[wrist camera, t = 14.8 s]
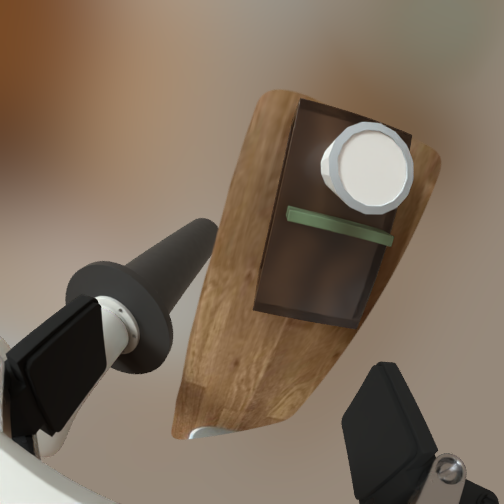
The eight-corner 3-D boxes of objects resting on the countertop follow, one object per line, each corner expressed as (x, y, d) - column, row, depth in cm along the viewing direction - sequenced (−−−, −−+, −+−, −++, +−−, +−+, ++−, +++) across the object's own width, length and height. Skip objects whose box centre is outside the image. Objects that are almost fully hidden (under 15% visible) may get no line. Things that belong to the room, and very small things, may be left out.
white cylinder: (308, 196, 25) (320, 204, 18) (319, 126, 23) (335, 110, 17) (374, 210, 25) (405, 223, 18) (386, 143, 23) (420, 136, 16)
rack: (258, 273, 39) (250, 324, 26) (292, 119, 33) (303, 88, 20) (337, 290, 39) (363, 344, 26) (376, 143, 33) (426, 131, 20)
